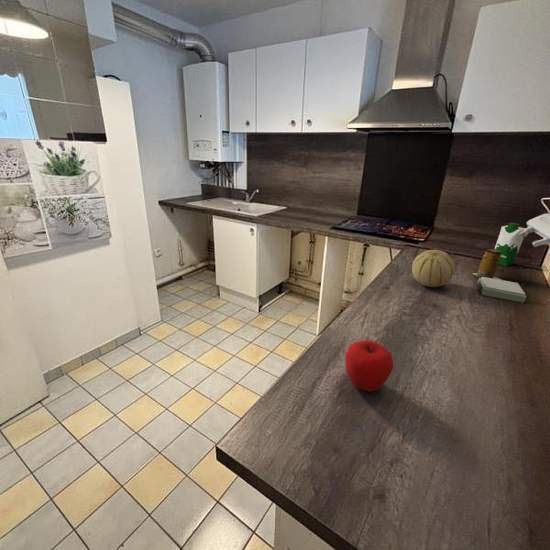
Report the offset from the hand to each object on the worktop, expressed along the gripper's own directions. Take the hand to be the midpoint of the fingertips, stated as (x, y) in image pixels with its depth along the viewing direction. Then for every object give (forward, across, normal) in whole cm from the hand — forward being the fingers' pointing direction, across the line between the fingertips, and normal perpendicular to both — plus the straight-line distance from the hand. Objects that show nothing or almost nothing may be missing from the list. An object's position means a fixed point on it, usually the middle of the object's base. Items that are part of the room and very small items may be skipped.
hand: (526, 240), depth 116 cm
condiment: (+18, -1, +9) cm, 20 cm away
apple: (+55, +79, -35) cm, 102 cm away
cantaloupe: (+38, +16, -11) cm, 43 cm away
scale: (+18, +15, +6) cm, 24 cm away
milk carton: (+8, -24, +21) cm, 33 cm away
